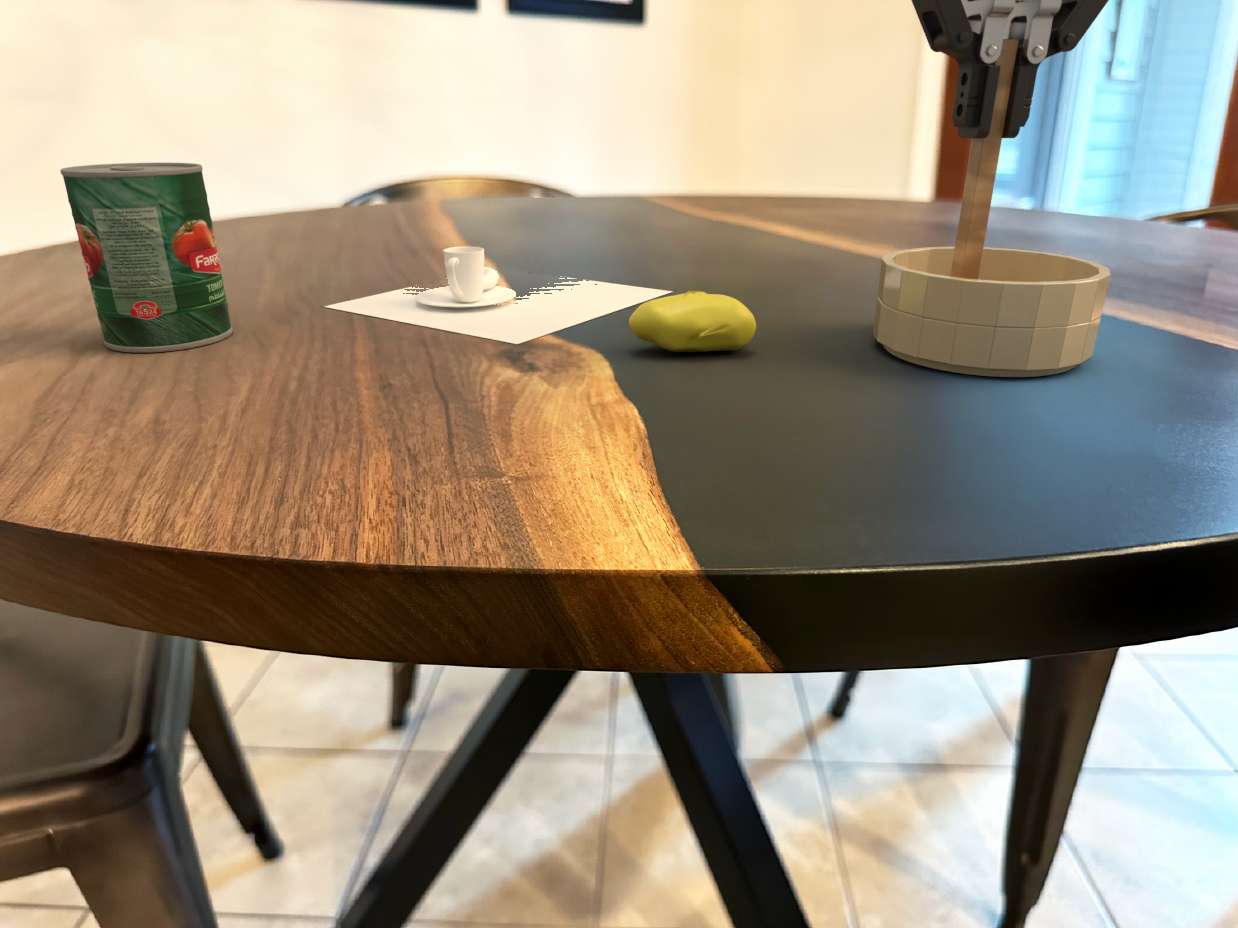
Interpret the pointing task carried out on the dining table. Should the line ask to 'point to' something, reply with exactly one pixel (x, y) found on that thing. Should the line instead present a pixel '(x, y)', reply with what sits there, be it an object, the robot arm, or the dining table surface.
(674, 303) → the lemon
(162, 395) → the dining table surface
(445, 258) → the teacup and saucer
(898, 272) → the bowl
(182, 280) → the canned tomato
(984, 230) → the flat wooden stick
